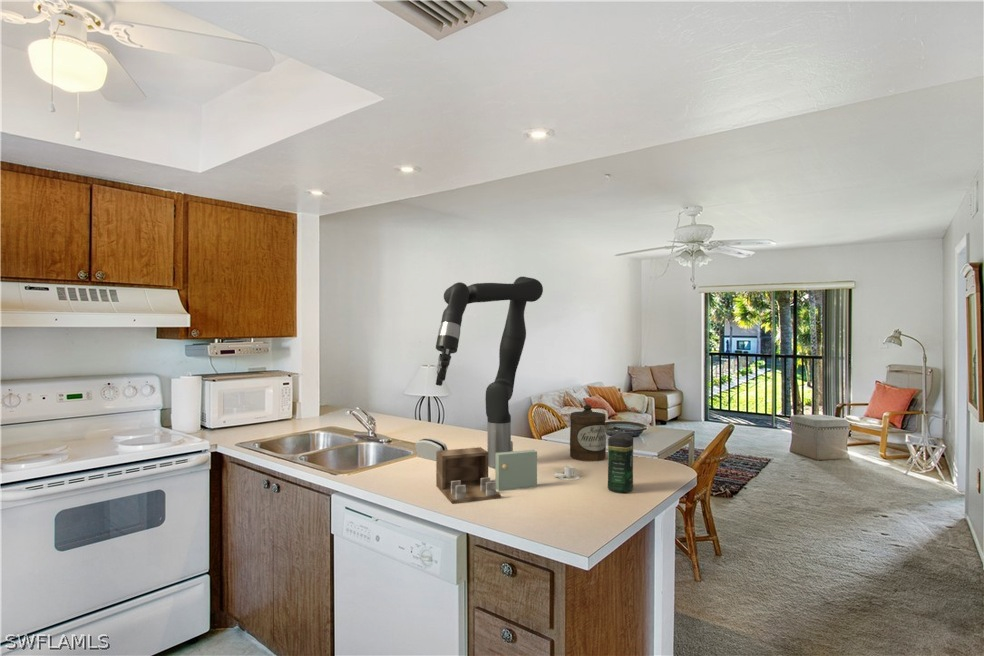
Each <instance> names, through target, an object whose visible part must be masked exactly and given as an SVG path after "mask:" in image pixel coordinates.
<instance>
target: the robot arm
mask: <svg viewBox="0 0 984 656" xmlns="http://www.w3.org/2000/svg"><path fill="white" fill-rule="evenodd" d="M543 292H544V287H543V284H542V283H541V281H539V280H538V279H536V278H534V277H526V276H519V277H517V278H516V279H515V280H514V282H513V283H502V282H479V283H478V282H477V283H472V284H470V285H467V284H466V283H464V282H456V283H454V284H452V285H450V286H449V287H448V288H447V289H446V290H445V291H444V293H443V300H444V302H445V303H446V304H447V306H446V308H445V309H444V310H443V313H442V316H441V321H440V325H439V328H438V333H437V337H436V344H435V349H436V351H438V352H441V353H439V355H438V359H437V360H438V362H437V370H436V375H437V376H436V380H435V385H436V386H442V385H443V382H445V381H446V378H447V377H446V376H447V370H448V369H449V366H450V363H451V360H452V356H451V354H455V353H457V352H458V348H459V343H460V336H461V327H462V321H463V316H464V313H465V311H466V309H467V305H469V304H473V303H489V302H499V301H509V305H508V311H507V314H506V315H507V316H506V319H505V324H504V327H503V332H502V335H501V339H500V344H499V350H498V351H499V355H498V359H499V362H498V363H499V364H498V370H497V373H496V376H495V379H494V381H493V382H491V383H490V384H488V385H487V387H486V390H485V415H486V419H487V423H486V424H487V449H486V451H487V452H488V468H493V469H495V453H501V452H512V451H514V449H513V447H514V443H513V441H512V432H511V431H512V426H511V425H512V416H511V414H510V411H509V407H510V406H509V401H510V400H511V398H512V396H513V393H514V387H515V382H516V381H515V379H516V374H517V370H518V366H519V363H520V360H521V357H522V353H523V350H524V346H525V341H526V340H527V328H526V321H525V310H526V306H527V302H528V303H533V302H536V301H538V300H539V299H540V298H541V297H542V295H543Z"/></svg>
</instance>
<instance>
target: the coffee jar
mask: <svg viewBox="0 0 984 656" xmlns="http://www.w3.org/2000/svg"><path fill="white" fill-rule="evenodd" d="M607 453H608V454H607V455H608V457H607V459H608V461H607V489H608V490H609V491H612V492H614V493H618V494H619V493H629V492H631V491H632V490H633V488H634V437H633V436H632V435H631V434H630V433H627V432H626V433H625V432H617V433H615V434H612V435H611V436H609V437H608V439H607Z"/></svg>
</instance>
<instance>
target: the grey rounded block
mask: <svg viewBox="0 0 984 656" xmlns="http://www.w3.org/2000/svg"><path fill="white" fill-rule="evenodd" d="M414 446H415V450H416V456H417V458H421V459H424V460H428V461H433V462H436V451H441V450H449V449H448V447H447V444H446V443H445V442H443V441H441V440H439V439H437V438H433V437H424V438H420V439H419V440H418V441H416V443H414Z"/></svg>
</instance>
